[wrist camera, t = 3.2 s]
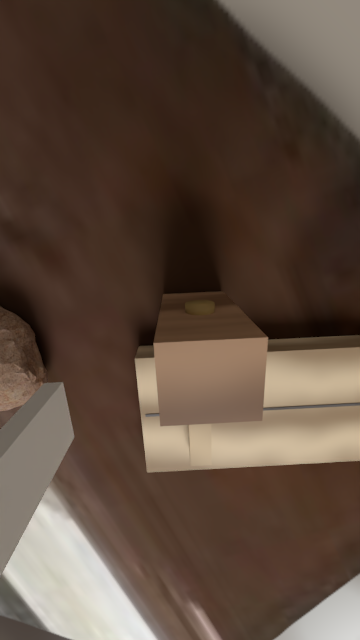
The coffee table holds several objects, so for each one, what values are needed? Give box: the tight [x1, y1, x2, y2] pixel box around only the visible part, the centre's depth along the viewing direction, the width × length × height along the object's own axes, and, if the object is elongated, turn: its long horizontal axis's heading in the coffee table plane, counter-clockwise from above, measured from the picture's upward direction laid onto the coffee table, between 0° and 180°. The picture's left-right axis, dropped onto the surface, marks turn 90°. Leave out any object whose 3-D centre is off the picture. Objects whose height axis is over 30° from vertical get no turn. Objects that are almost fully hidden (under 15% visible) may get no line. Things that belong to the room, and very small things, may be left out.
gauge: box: [153, 291, 268, 466], centre depth 18 cm, size 15×5×10 cm, turn 3°
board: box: [135, 335, 360, 472], centre depth 23 cm, size 12×24×3 cm, turn 93°
